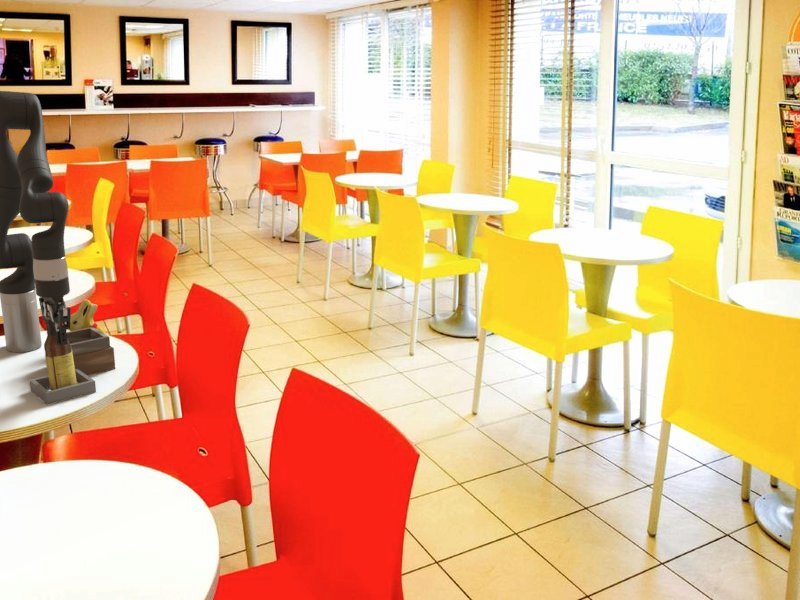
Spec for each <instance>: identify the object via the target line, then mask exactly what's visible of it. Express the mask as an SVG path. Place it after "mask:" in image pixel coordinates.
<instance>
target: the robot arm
mask: <svg viewBox="0 0 800 600" xmlns="http://www.w3.org/2000/svg"><path fill="white" fill-rule="evenodd" d="M42 110H43V109H42V106H41V102H40V99H39V98H38V96H37V95H36V94H35V93H31V92H24V91H23V92H22V91H21V92H20V91H7V90H0V270H2V269H5V270H6V269H13V268H16V269H15V270H14V271H13V272H12V273H11V274H10V275H8V276H7V277H4V278H3V279H1V280H0V305H1V306H0V307H1V314H2V322H3V323H2V324H3V329H4V338H5V339H4V340H5V346H6V347H5V348H6V350H7V351H9V352H12V353H24V352H30V351H34V350H37V349H39V348H41V346H42V344H43V343H42V336H41V327H40V318H39V316H40V315H39V309H38V301H39V306H40V311H41V316H42V320H43V322H45V320H44V318H45V317H47V316H51V320H52V322H54V324H55V328H56V336H57V344H58V345H59V346H62V345H66V344H67V343H68V342H67V332H68V331H67V330H69V329H70V316H71V308H70V307H69V306H67V305H66V301H65V299H64V297H65V296H67V295H69V294H70V292H71V290H70V279H69V270H68V267H69V266H68V263H67V258H66V253H65V252H66V251H65V229H66V223H67V219H68V216H69V215H68V214H69V208H70V205H69V201H68V199H67V197H66V195H65V194H63V193H62V192H59V191H51V190H52V189H53V186H54V179H53V175H52V171H51V167H50V163H49V160H48V155H47V144H46V134H45V125H44V117H43V111H42ZM8 130H19V131H21V130H23V131H24V130H25V131H26V130H27V131H28V130H29V132H30V133H29V136H28V138H27V139H26V141H25V142H24V144H23V146H22V147H21V149H20V150H19V153H17V152H16V150H15V149H14V146H13V145H12V144H11V142H10V140H9V138H8ZM18 215H20V217H21V218H22V219H23V221H25V222H26V223H28V224H42V223H43V224H45V223H52V224H51V225H50V226H49V228H48V229H46V230H42V231H38V232H36V233H34V234H33V235H32V236H31V238H30V236H29V235H28V234H27V233H24V232H23V233H21V232H19V233H11V234H8V233H9V229H10V227H11V225H12V224H13V222H14V221H15V219H16V218H17V217H18ZM37 296H38V297H39V298H38V299H37ZM37 300H38V301H37ZM55 317H58V318H55ZM62 324H63V325H62Z"/></svg>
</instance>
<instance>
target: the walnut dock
mask: <svg viewBox="0 0 800 600" xmlns="http://www.w3.org/2000/svg"><path fill="white" fill-rule="evenodd" d="M66 332H67V339H68V341H69V343H70V345H71V347H72V354H73V360H74V367H75V369H79V370H80V371H81V372H83V373H84V374H86V375H87V376H90V375H95V373H96V374H99V372H100V373H103V372H102V371H104V372H107V370H108V371H112V370H115V369H116V362H115V361H116V360H115V348H114V347H113V346H112V345H111V342H110V339H111V338H110V336H109V335H107V334H106V333H105V334H106V335H105V334H103V333H102V332H100V331H98V330H97V329H95V328H93V327H89V328H84V329H79V330H74V331H70V330H69V331H66ZM111 369H112V370H111Z"/></svg>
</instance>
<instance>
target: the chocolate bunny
mask: <svg viewBox="0 0 800 600" xmlns="http://www.w3.org/2000/svg"><path fill="white" fill-rule="evenodd" d="M97 311H98V305H97V304H95V303H92V302H91V301H90V300H89V299H87V298H86V299H83V300H82V301H81V303H80V304H79V307H78V309H77V310H76V311H75V312H74V313H72V314H70V329H68V330H69V331H74V330H79V329H84V328H89V327H93V328H95V329H97V330H98V331H100V332H102V333H103V334H105V335H107V334H106V332H105V330H104V329H102V328H101V327H100V326H99V325H98V324H97V323H96V322H95V321H94V315H95V313H96V312H97Z"/></svg>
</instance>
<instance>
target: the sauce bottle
mask: <svg viewBox="0 0 800 600" xmlns="http://www.w3.org/2000/svg"><path fill="white" fill-rule="evenodd" d="M55 318H58V317H55ZM44 320H45V321H44ZM44 320H43V321H44V323H45V326H46V335H47V336H46V339H45V341H44V344H43V347H44V355H45V356H44V357H45V363H46V370H47V376H48V377H49V383H50V388H49V389H51V390H55V389H59V388H63V387H67V386H71V385H75V384H78V382H77V381H76V374H75V367H74V360H73V354H72V347H71V345H70V343H69V341H68V339H67V342H68V343H67V344H66V345H62V346H59V345H58V344H57V336H56V328H55V324H54V322H52V320H51V316H47V317H45V318H44ZM62 325H63V323H62ZM51 390H50V391H51Z"/></svg>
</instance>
